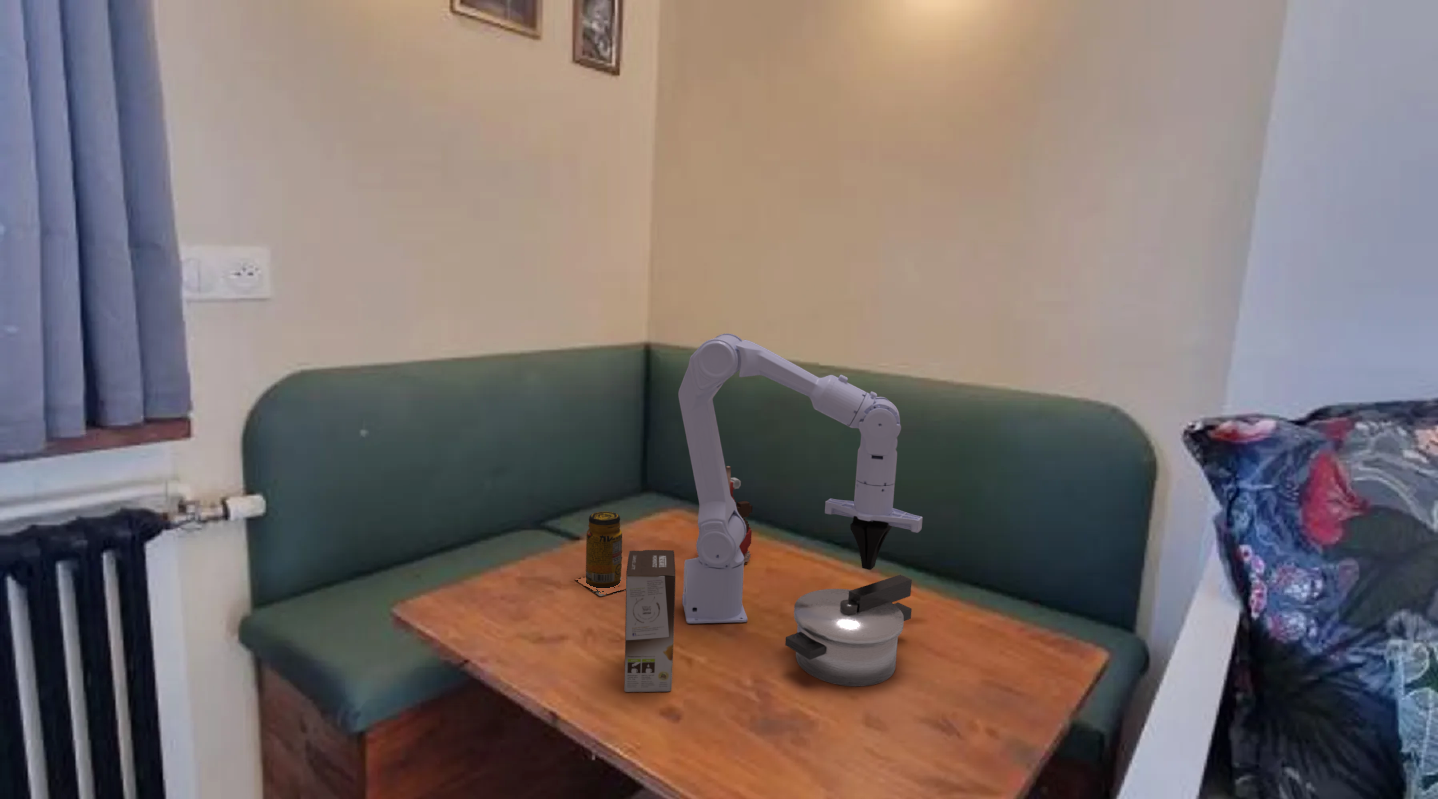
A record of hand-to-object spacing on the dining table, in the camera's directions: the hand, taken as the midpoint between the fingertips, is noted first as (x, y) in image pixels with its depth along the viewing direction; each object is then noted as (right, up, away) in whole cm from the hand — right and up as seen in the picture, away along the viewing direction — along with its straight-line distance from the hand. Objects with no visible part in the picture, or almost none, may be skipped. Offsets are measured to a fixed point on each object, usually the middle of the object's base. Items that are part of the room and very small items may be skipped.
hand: (868, 567), depth 119 cm
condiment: (-42, -6, +15) cm, 45 cm away
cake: (-22, -5, +28) cm, 36 cm away
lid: (-3, -5, -7) cm, 9 cm away
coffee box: (-32, -12, -13) cm, 37 cm away
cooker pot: (-4, -12, -6) cm, 14 cm away
